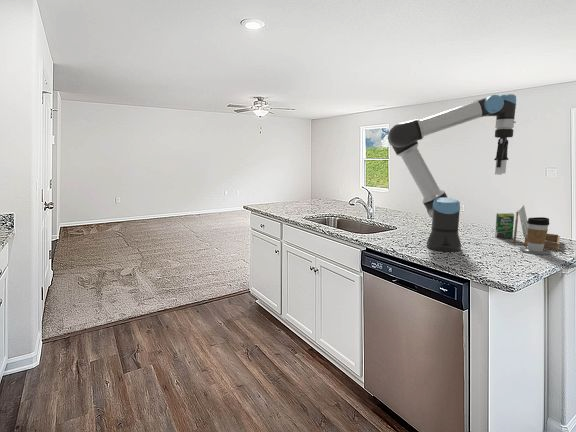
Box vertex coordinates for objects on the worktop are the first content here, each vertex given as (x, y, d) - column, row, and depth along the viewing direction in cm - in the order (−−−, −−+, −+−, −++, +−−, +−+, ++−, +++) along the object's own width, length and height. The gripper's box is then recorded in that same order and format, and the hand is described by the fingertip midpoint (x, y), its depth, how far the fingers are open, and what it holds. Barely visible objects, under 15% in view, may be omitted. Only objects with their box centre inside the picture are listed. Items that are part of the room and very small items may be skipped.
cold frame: (558, 250, 171) (563, 212, 168) (512, 244, 182) (515, 209, 179) (559, 241, 188) (563, 207, 185) (516, 236, 199) (519, 204, 196)
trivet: (542, 256, 161) (542, 254, 161) (514, 250, 171) (514, 249, 171) (556, 252, 167) (556, 251, 167) (528, 247, 177) (528, 245, 177)
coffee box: (496, 237, 197) (498, 213, 195) (494, 236, 200) (496, 212, 198) (512, 238, 196) (515, 214, 193) (510, 237, 198) (513, 213, 196)
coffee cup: (549, 252, 164) (553, 219, 162) (528, 252, 166) (532, 219, 163) (541, 248, 172) (544, 216, 170) (521, 247, 174) (524, 216, 171)
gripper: (510, 126, 162) (506, 175, 166) (516, 130, 182) (512, 173, 185) (491, 127, 166) (487, 174, 170) (499, 130, 186) (495, 172, 190)
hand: (500, 174), depth 178 cm, fingers open, 13 cm apart
